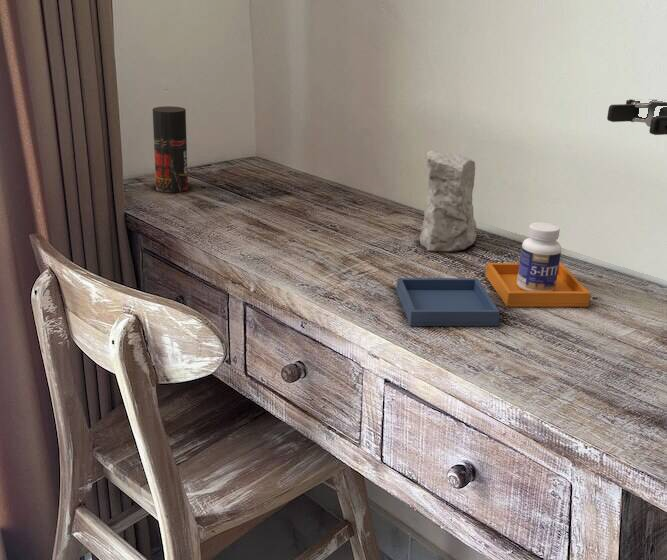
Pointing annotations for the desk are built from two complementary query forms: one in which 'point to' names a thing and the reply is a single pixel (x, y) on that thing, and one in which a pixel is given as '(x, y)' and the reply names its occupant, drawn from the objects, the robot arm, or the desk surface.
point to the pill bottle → (539, 258)
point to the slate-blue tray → (446, 302)
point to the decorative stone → (449, 203)
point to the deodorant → (170, 149)
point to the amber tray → (512, 295)
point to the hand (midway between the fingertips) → (630, 119)
